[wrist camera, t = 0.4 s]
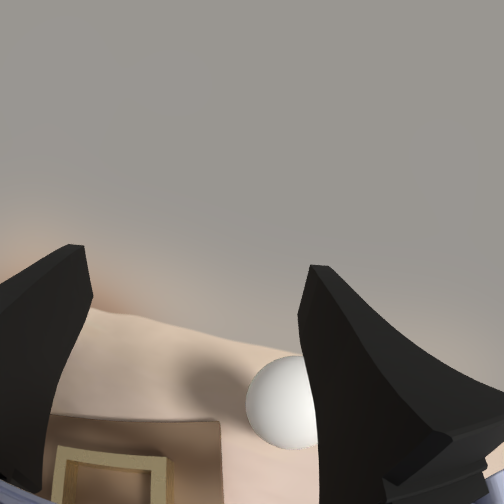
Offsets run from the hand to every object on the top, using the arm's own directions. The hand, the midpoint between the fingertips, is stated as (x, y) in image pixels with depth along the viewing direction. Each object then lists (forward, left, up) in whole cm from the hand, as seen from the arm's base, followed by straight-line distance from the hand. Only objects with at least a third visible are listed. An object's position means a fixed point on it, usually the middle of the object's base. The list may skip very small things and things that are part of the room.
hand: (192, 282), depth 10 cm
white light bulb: (+1, -3, -20) cm, 21 cm away
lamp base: (-6, +12, -20) cm, 24 cm away
